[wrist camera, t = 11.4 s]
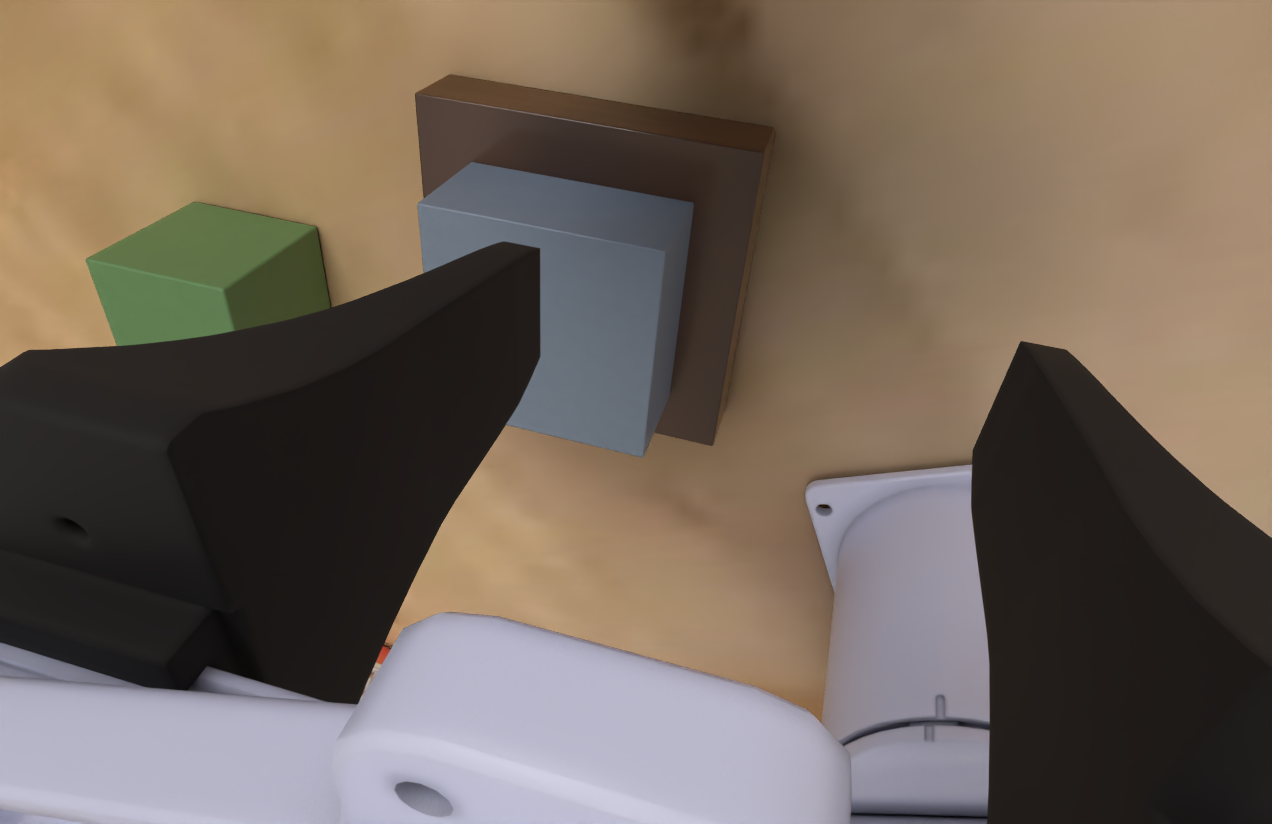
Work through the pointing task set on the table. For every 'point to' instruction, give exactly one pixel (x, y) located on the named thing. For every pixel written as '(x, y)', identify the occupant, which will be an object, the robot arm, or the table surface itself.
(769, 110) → the table surface
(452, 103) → the walnut slab
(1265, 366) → the table surface
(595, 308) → the blue-grey block
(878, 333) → the table surface
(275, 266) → the green block
